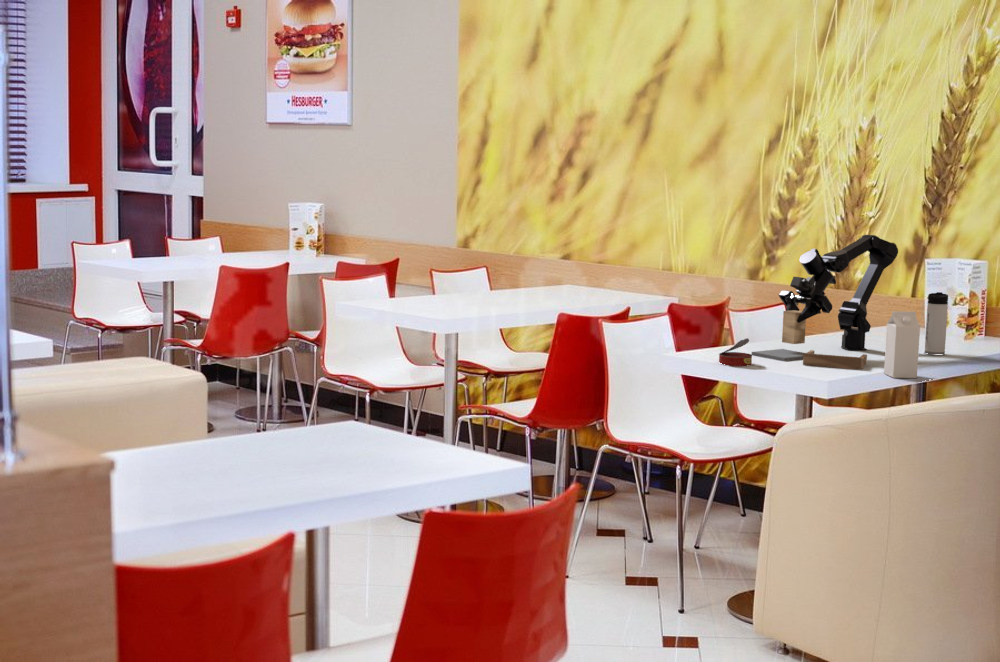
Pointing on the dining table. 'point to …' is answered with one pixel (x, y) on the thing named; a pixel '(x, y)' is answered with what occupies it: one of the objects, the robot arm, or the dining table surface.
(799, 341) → the packed blank
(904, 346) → the milk carton
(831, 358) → the tray
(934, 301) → the travel mug
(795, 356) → the mat
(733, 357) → the canned food
